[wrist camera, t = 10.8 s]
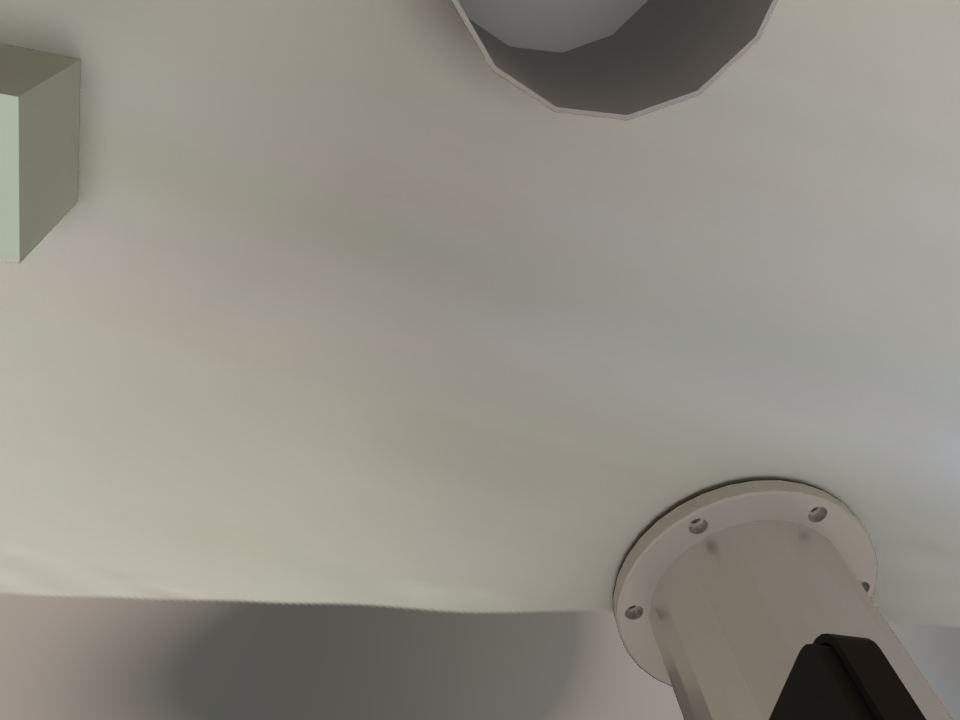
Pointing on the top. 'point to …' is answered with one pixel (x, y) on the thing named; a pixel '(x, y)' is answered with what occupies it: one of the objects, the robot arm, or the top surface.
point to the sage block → (36, 145)
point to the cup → (613, 48)
